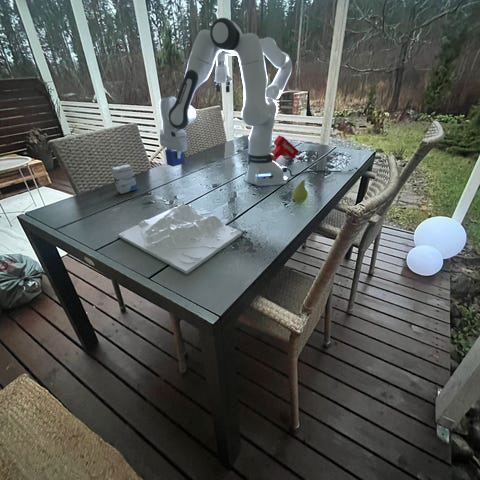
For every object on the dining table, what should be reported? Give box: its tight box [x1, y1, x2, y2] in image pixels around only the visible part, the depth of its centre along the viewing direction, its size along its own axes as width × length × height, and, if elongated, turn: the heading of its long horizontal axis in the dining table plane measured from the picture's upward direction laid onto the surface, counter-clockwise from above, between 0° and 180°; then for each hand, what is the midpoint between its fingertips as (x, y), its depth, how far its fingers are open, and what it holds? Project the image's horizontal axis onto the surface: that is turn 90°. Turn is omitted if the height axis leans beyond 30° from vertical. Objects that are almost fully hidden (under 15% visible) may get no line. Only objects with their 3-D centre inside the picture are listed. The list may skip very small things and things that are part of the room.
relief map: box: [117, 202, 243, 275], centre depth 96 cm, size 27×35×5 cm
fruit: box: [291, 174, 311, 204], centre depth 118 cm, size 7×8×12 cm
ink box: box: [110, 164, 138, 195], centre depth 131 cm, size 8×5×12 cm, turn 135°
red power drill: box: [270, 134, 300, 163], centre depth 174 cm, size 18×4×15 cm
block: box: [164, 148, 186, 168], centre depth 152 cm, size 5×8×8 cm, turn 139°
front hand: (174, 157), depth 152 cm, fingers closed on block, 5 cm apart
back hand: (223, 92), depth 198 cm, fingers open, 9 cm apart
